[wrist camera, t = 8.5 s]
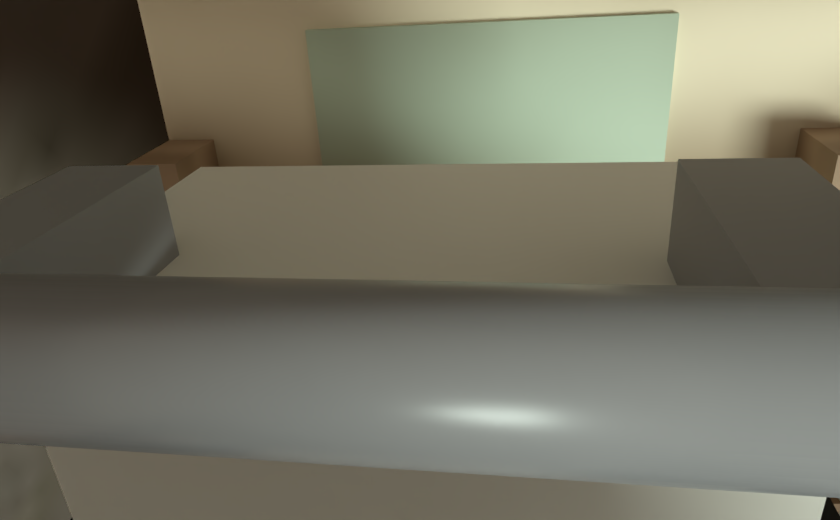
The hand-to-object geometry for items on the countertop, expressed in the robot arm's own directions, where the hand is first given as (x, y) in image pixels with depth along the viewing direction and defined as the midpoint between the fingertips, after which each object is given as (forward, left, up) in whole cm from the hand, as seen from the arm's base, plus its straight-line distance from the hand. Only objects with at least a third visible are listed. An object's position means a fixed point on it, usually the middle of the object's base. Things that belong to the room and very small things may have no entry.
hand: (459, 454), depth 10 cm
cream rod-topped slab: (0, 0, -1) cm, 1 cm away
